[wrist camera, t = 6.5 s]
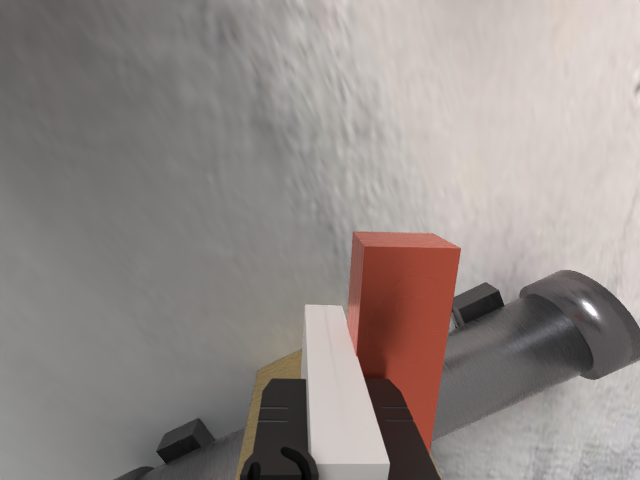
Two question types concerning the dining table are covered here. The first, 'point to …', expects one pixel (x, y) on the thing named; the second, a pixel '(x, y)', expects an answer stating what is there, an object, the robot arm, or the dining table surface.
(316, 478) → the robot arm
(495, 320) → the valve pipe
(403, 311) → the lever
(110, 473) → the dining table surface
